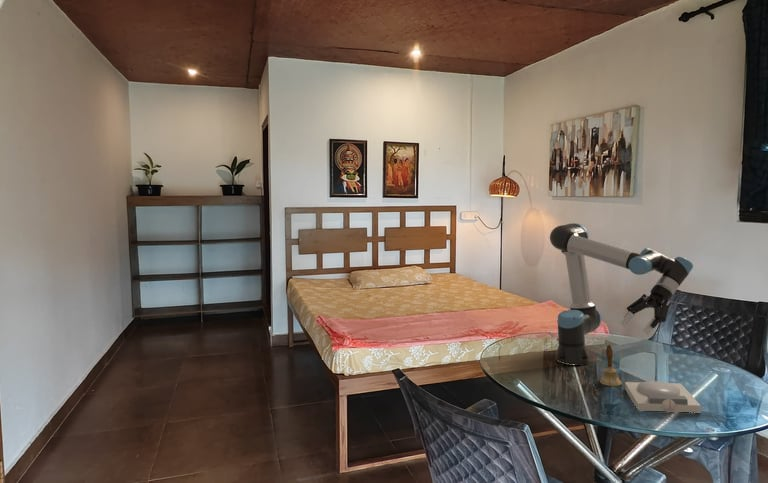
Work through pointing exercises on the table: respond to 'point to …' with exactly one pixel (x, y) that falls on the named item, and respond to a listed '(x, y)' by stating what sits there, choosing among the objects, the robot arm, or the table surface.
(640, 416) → the table surface
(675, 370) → the table surface
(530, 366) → the table surface
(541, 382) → the table surface
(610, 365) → the hand bell
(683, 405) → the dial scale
